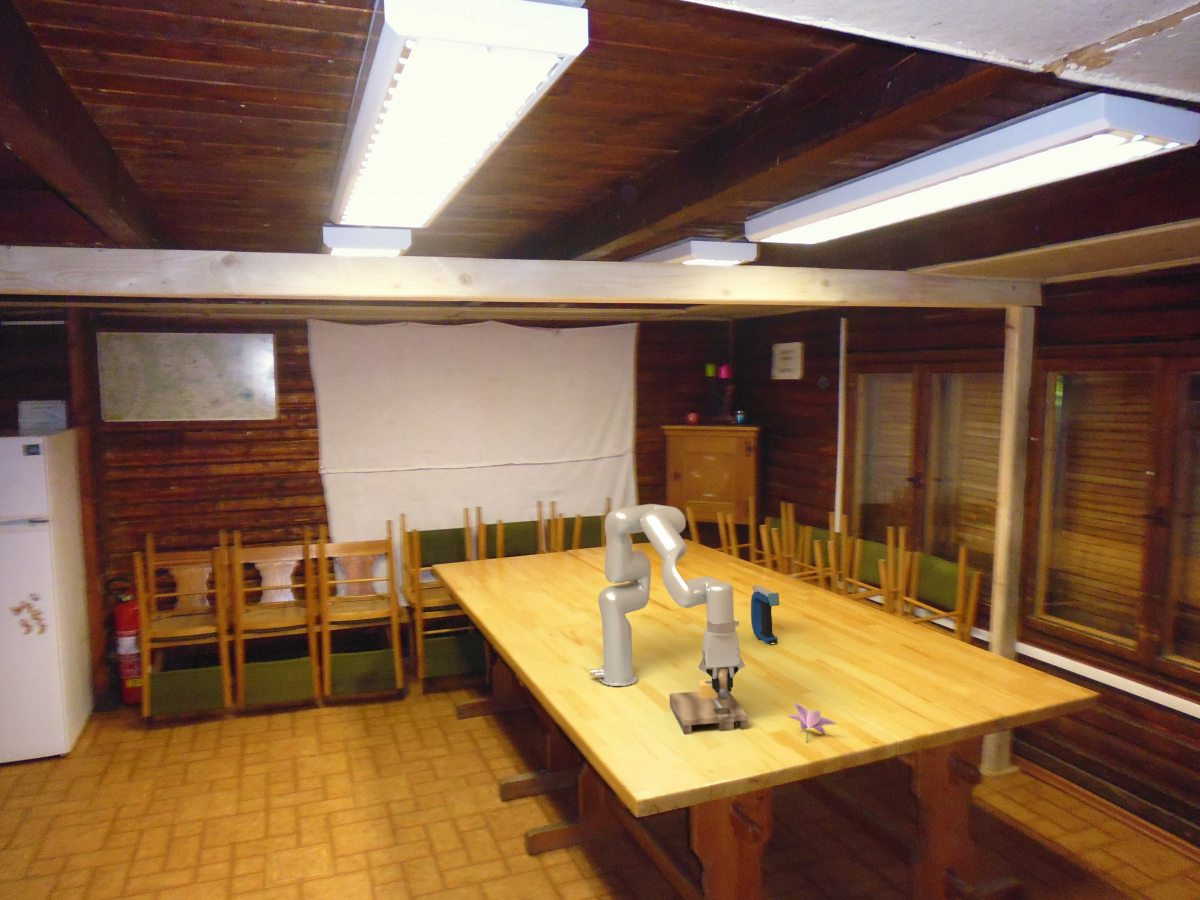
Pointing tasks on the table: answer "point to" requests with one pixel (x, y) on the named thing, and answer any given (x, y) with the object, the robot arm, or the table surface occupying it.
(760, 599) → the handheld scanner
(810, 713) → the lily
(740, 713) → the board
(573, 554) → the table surface
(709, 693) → the block
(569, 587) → the table surface
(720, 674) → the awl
